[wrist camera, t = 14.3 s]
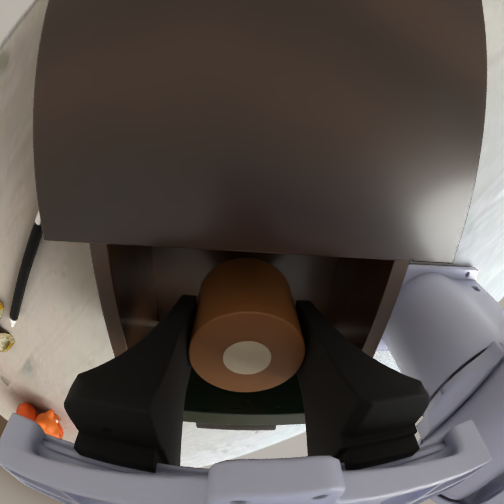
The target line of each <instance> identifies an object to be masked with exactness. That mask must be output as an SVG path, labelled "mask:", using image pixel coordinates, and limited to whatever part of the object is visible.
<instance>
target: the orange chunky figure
mask: <svg viewBox="0 0 504 504" xmlns="http://www.w3.org/2000/svg"><path fill="white" fill-rule="evenodd" d="M16 413H17V414H19V415H21V416H23V417H26V418H28V419H30V420H32V421H34V422H36V423H37V424H39V425H40V426H41V428H42V429H43V430H44V432H45V433H46V434H48V435H51V436H54V437H57V438H59V439H62V437H63V429H62V427H61V425H60V424H59V421H60V420H61V419H60V418H59V417H58V416H57V415H56V414H54V411H53V410H52V409H50V410H48V411H47V412H46V413H41V414H39V415H38V414H37V412H36V410H35V409H34V407H33V406H32V405H30V404H28V403H22V404H20V405H19V406H18V408H17V411H16Z"/></svg>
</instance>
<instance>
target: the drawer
mask: <svg viewBox="0 0 504 504" xmlns="http://www.w3.org/2000/svg"><path fill="white" fill-rule="evenodd" d="M90 250H91V256H92V262H93V268H94V273H95V279H96V284H97V289H98V293H99V298H100V302H101V307H102V311H103V315H104V319H105V323H106V327H107V331H108V335H109V338H110V342H111V345H112V349H113V352H114V356H115V357H117V356H119V355H120V354H122V353H123V352H125V351H126V350H128V349H129V348H131V347H132V346H134V345H135V344H136V343H137V342H139V341H140V340H141V339H142V338H144V337H145V336H146V335H147V334H148V333H149V332H150V331H151V330H152V329H153V328H154V327H155V326H156V325H157V324H158V323H159V322H160V321H161V320H162V319H163V318H164V317H165V315H166V314H167V313H168V312H169V311H170V310H171V308H172V307H173V306H174V305H175V303H176V302H177V301H178V299H179V298H180V297H181V296H182V295H195V296H197V300H198V295H199V290H200V286H201V284H202V281H203V280H204V278H205V276H206V275H207V274H208V273H209V272H210V271H211V270H212V269H213V268H215V267H216V266H218V265H219V264H221V263H223V262H226V261H228V260H232V259H237V258H254V259H259V260H262V261H265V262H267V263H269V264H271V265H273V266H274V267H276V268H277V269H278V270H279V271H280V272H281V273H282V274H283V275H284V276H285V278H286V280H287V281H288V284H289V286H290V290H291V294H292V297H293V301H294V305H295V306H296V301H297V300H305V301H311V302H312V303H313V304H314V306H315V307H316V308H317V309H318V310H319V311H320V312H321V313H322V314H323V316H324V317H325V318H326V319H327V320H328V321H329V322H330V323H331V324H332V325H333V326H334V327H335V328H336V329H337V330H338V331H339V332H340V333H341V334H342V335H343V336H344V337H346V338H347V339H348V340H349V341H350V342H351V343H353V344H354V345H355V346H356V347H358V348H359V349H360V350H362V351H363V352H364V353H366V354H367V355H369V356H370V357H372V358H373V356H374V354H375V352H376V349H377V347H378V345H379V343H380V340H381V338H382V336H383V333H384V331H385V329H386V326H387V324H388V321H389V319H390V316H391V314H392V311H393V309H394V306H395V303H396V301H397V298H398V295H399V292H400V290H401V287H402V284H403V281H404V278H405V275H406V272H407V269H408V266H409V263H410V261H400V260H382V259H365V258H347V257H330V256H313V255H295V254H278V253H260V252H243V251H225V250H208V249H190V248H173V247H155V246H138V245H121V244H103V243H90ZM183 421H185V422H196V426H197V428H207V429H223V430H275V429H276V425H289V424H306V423H305V414H304V405H303V399H302V393H301V389H300V385H299V381H298V377H297V373H295V374H294V375H293V376H292V377H291V378H289V379H288V380H287V381H285V382H283V383H282V384H280V385H277V386H275V387H273V388H270V389H266V390H262V391H256V392H235V391H229V390H225V389H222V388H219V387H216V386H214V385H212V384H210V383H208V382H207V381H205V380H204V379H203V378H201V377H200V376H199V375H198V374H197V372H196V371H195V370H194V368H193V367H192V368H191V372H190V376H189V381H188V385H187V389H186V395H185V403H184V413H183Z"/></svg>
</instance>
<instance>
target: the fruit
mask: <svg viewBox="0 0 504 504" xmlns="http://www.w3.org/2000/svg"><path fill="white" fill-rule="evenodd" d="M2 312H3V306H2V303H1V302H0V319H1V315H2ZM14 342H15V341H14V339H13V338H12V337H11V336H10V334H6V333H3V334H2V333H0V351H1V352H6V351H7V350H9V349H10V348H11V346H12V345H13V344H14Z"/></svg>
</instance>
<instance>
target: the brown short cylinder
mask: <svg viewBox="0 0 504 504" xmlns="http://www.w3.org/2000/svg"><path fill="white" fill-rule="evenodd" d="M188 355H189V360H190V362H191V365H192V367H193V368H194V370H195V371H196V372H197V374H198V375H199V376H200V377H201V378H203V379H204V380H205V381H207V382H208V383H210V384H212V385H214V386H216V387H219V388H222V389H225V390H229V391H235V392H256V391H262V390H266V389H270V388H273V387H275V386H277V385H280V384H282V383H283V382H285V381H287V380H288V379H289V378H291V377H292V376H293V375H294V374H295V373H296V372H297V371H298V369H299V368H300V366H301V365H302V363H303V360H304V357H305V342H304V338H303V335H302V331H301V327H300V323H299V320H298V316H297V312H296V308H295V305H294V301H293V297H292V294H291V290H290V286H289V284H288V281H287V280H286V278H285V276H284V275H283V274H282V273H281V272H280V271H279V270H278V269H277V268H276V267H274V266H273V265H271V264H269V263H267V262H265V261H262V260H259V259H254V258H237V259H232V260H228V261H226V262H223V263H221V264H219V265H218V266H216V267H215V268H213V269H212V270H211V271H210V272H209V273H208V274H207V275H206V276H205V278H204V280H203V281H202V284H201V286H200V290H199V295H198V300H197V306H196V311H195V316H194V321H193V326H192V331H191V337H190V342H189V348H188Z"/></svg>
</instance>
